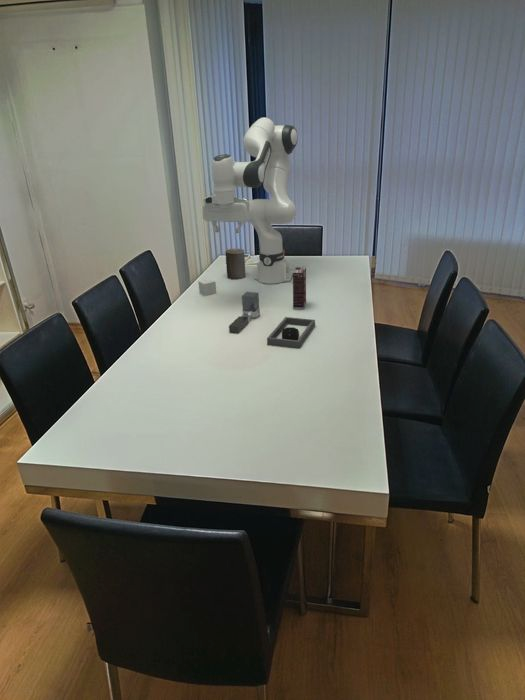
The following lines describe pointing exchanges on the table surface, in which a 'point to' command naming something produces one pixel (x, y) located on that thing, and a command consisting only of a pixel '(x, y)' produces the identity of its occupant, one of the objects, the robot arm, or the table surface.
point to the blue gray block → (250, 301)
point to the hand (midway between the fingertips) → (227, 232)
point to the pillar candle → (235, 263)
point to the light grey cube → (207, 287)
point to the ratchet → (243, 321)
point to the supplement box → (299, 288)
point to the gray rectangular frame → (285, 342)
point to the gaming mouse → (290, 333)
